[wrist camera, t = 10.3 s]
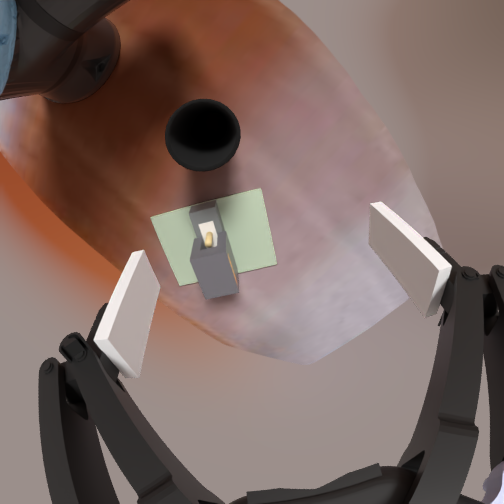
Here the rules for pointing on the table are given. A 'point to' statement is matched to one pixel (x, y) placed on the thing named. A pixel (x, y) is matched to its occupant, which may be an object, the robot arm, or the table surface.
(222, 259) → the plug block
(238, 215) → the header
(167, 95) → the table surface
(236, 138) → the cup
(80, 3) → the robot arm
